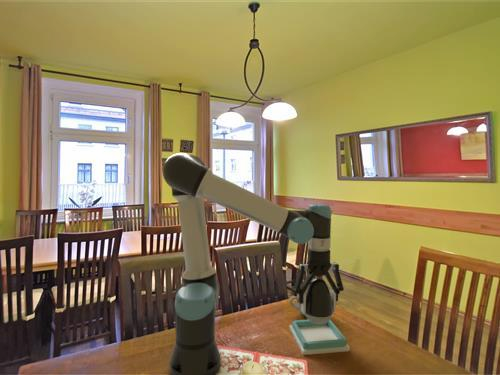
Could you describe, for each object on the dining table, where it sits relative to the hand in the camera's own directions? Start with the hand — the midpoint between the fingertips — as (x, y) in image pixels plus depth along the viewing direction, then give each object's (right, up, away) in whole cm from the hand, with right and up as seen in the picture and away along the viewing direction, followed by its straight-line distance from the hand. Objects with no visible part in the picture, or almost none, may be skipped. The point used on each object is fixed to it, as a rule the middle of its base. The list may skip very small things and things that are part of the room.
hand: (318, 311), depth 101 cm
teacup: (-1, -9, +19) cm, 21 cm away
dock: (0, -10, +1) cm, 10 cm away
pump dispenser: (0, -4, 0) cm, 4 cm away
